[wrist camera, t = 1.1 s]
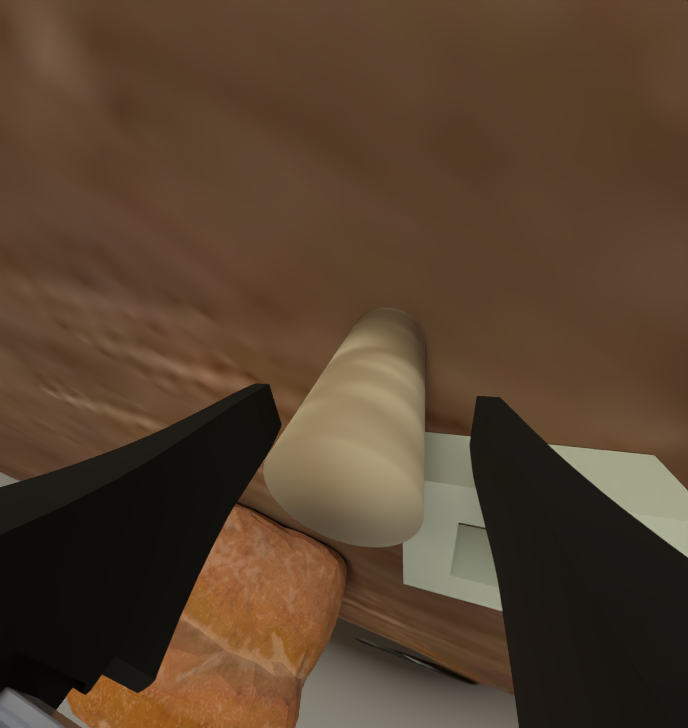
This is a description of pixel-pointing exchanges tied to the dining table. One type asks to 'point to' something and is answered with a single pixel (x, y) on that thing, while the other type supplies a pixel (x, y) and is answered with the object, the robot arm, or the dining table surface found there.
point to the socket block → (471, 545)
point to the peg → (359, 438)
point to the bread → (236, 636)
